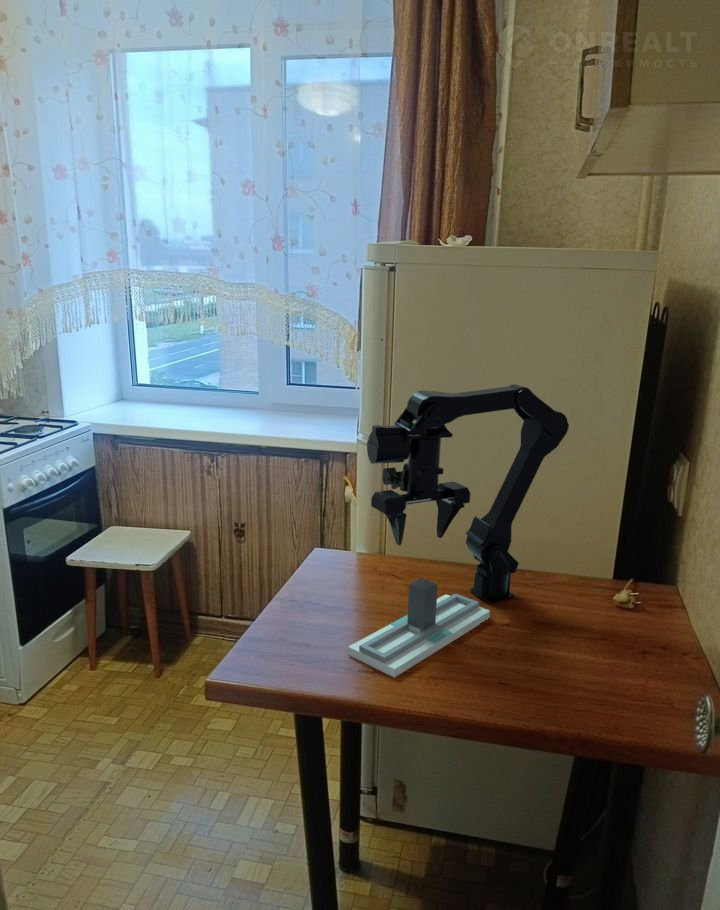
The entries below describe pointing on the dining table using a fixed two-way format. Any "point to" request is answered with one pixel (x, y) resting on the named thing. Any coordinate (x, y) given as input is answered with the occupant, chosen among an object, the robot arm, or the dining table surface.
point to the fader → (422, 605)
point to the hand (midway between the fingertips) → (419, 540)
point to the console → (418, 636)
